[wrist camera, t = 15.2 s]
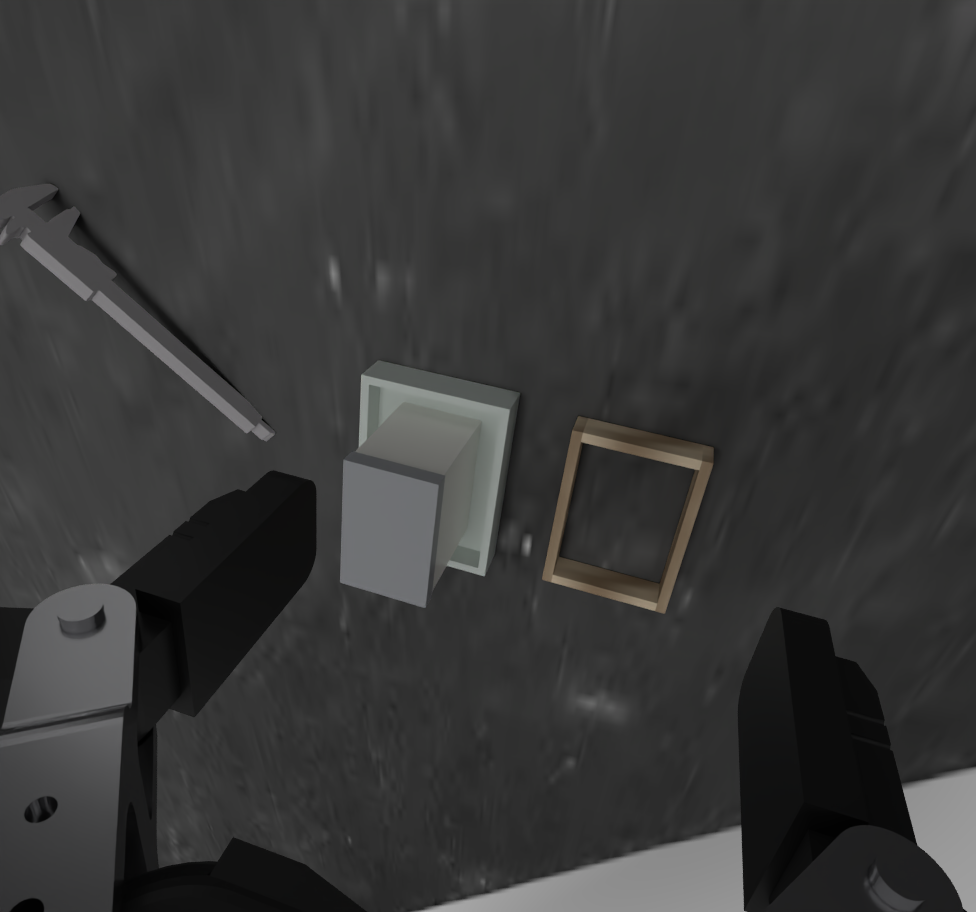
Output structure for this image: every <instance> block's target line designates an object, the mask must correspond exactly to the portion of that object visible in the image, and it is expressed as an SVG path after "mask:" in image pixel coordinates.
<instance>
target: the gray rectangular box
mask: <svg viewBox="0 0 976 912" xmlns="http://www.w3.org/2000/svg"><path fill="white" fill-rule="evenodd" d="M481 422H482V421H480V420H476V419H472V418H468V417H464V416H460V415H456V414H452V413H448V412H444V411H439V410H435V409H431V408H427V407H423V406H419V405H415V404H411V403H407V402H403V403H402V404H401V405H400V406H399V407H398V408H397V409H396V410H395V411H394V412H393V413H392V414H391V415H390V416H389V417H388V418H387V419H386V420H385V421H384V422H383V424H382V425H381V426H380V427H379V428H378V429H377V430H376V431H375V432H374V433H373V434H372V435H371V436H370V437H369V438H368V439H367V440H366V441H365V442H364V443H363V444H362V445H361V446H360V447H359V448H358V449H357V450H356V451H355V452H354V451H352V452H351V453H350V454H349V455H348V456H347V457H346V458H345V459H344V463H343V500H342V536H341V572H340V583H344V584H347V585H350V586H354V587H357V588H360V589H364V590H367V591H370V592H374V593H377V594H380V595H384V596H387V597H390V598H394V599H397V600H400V601H404V602H407V603H410V604H414V605H417V606H420V607H424V608H426V606H427V604H428V603H429V601H430V599H431V597H432V591H433V589H434V587H435V585H436V584H437V582H438V580H439V578H440V576H441V575H442V573H443V571H444V569H445V567H446V566H447V564H448V562H449V560H450V558H451V557H452V555H453V553H454V551H455V549H456V548H457V546H458V544H459V542H460V540H461V539H462V537H463V535H464V533H465V531H466V530H467V524H468V517H469V510H470V502H471V495H472V488H473V480H474V473H475V466H476V458H477V451H478V444H479V436H480V429H481Z"/></svg>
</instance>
